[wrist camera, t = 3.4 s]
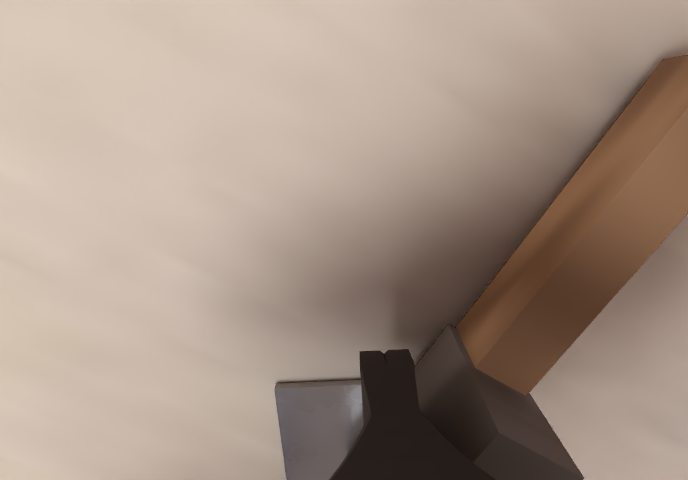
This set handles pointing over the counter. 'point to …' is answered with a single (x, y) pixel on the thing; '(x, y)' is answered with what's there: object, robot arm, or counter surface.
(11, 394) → the counter surface
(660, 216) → the lever
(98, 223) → the counter surface
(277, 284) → the counter surface
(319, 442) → the pivot base
